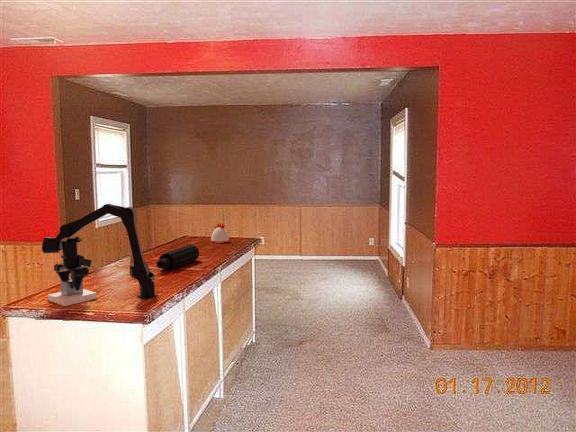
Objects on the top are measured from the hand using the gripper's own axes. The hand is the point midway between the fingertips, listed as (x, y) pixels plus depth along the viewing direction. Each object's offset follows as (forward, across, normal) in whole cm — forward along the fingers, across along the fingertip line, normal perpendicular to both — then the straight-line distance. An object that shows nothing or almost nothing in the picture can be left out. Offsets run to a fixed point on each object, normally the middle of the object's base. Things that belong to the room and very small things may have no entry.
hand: (72, 288), depth 192 cm
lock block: (+2, 0, 0) cm, 2 cm away
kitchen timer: (+5, +65, -150) cm, 164 cm away
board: (+5, 0, 0) cm, 5 cm away
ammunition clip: (+5, +23, -47) cm, 53 cm away
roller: (+5, +19, -71) cm, 74 cm away
